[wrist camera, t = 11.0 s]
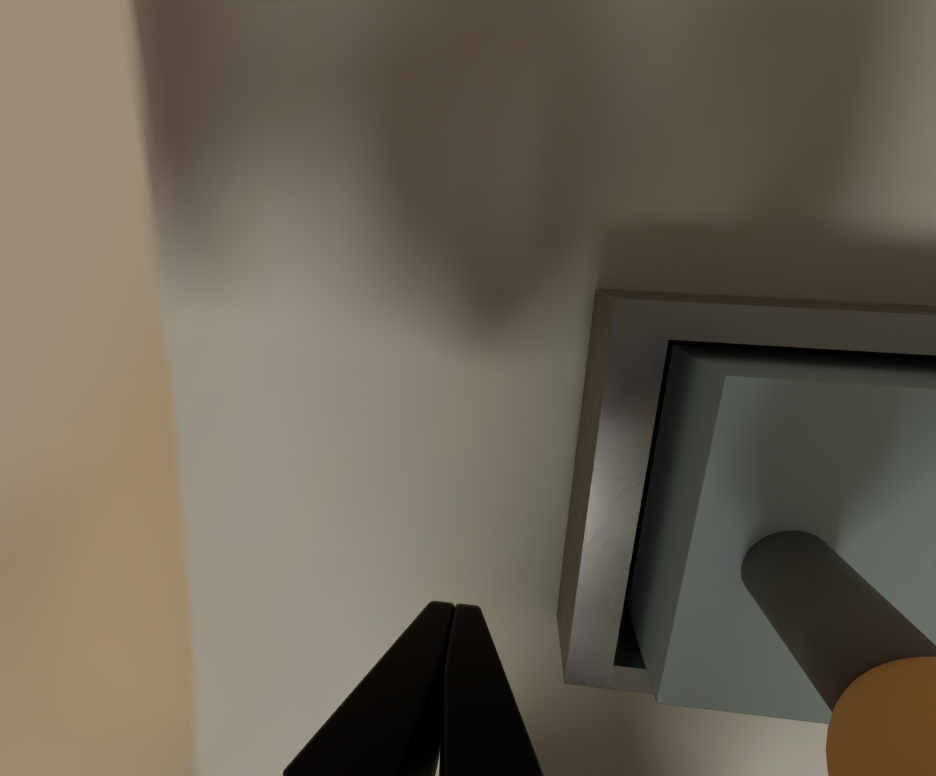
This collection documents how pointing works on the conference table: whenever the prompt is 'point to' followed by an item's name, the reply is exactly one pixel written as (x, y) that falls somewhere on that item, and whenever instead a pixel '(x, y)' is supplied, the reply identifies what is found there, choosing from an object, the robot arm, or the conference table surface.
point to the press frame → (630, 433)
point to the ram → (796, 548)
